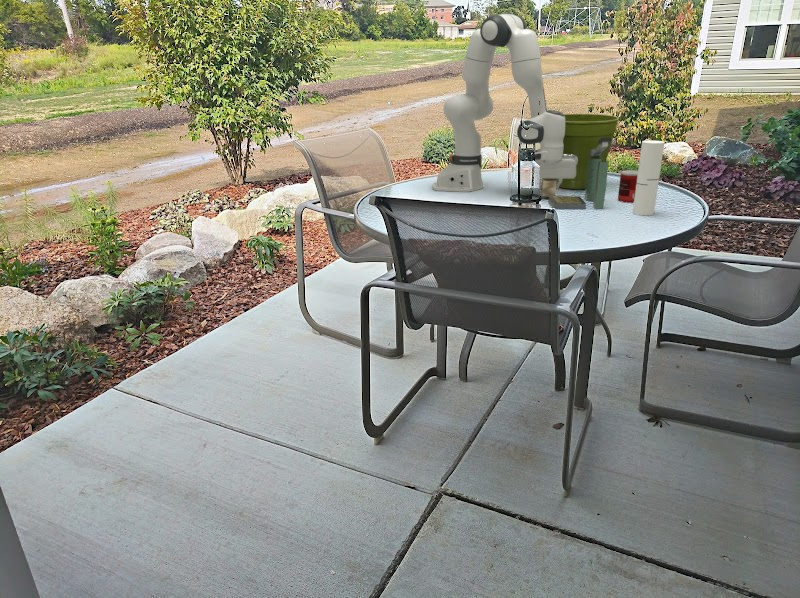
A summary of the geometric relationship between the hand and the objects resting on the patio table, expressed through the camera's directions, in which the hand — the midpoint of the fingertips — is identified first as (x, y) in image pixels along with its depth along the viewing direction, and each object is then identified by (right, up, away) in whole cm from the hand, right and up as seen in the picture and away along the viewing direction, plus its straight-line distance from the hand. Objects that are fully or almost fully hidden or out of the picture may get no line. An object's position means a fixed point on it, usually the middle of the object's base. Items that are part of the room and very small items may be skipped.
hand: (548, 189), depth 235 cm
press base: (+8, -7, -8) cm, 14 cm away
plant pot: (+17, +6, +22) cm, 28 cm away
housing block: (0, -2, +1) cm, 2 cm away
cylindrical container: (+28, -13, -24) cm, 39 cm away
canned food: (+30, -5, -5) cm, 31 cm away
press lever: (+15, +10, -17) cm, 25 cm away
